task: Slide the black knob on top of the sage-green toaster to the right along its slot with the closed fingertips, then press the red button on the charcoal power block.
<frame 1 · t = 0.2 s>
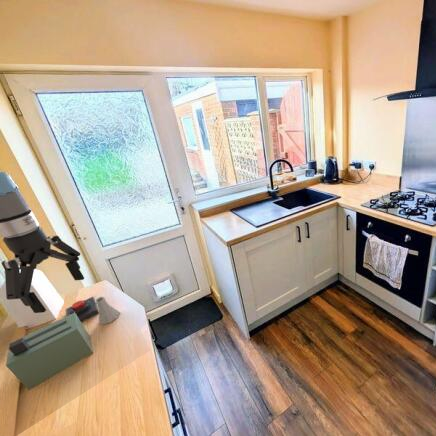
hand: (61, 294, 73), 28 cm above the countertop, tool pointing down, fingers open, 13 cm apart
toaster slider: (19, 346, 75), point 14 cm above the countertop, slide at -5.0 cm
toaster: (62, 359, 86), on the countertop
power button: (78, 305, 104), point 4 cm above the countertop, slide at 0.1 cm
power block: (83, 313, 106), on the countertop
flask: (110, 318, 102), on the countertop
milk: (44, 315, 108), on the countertop
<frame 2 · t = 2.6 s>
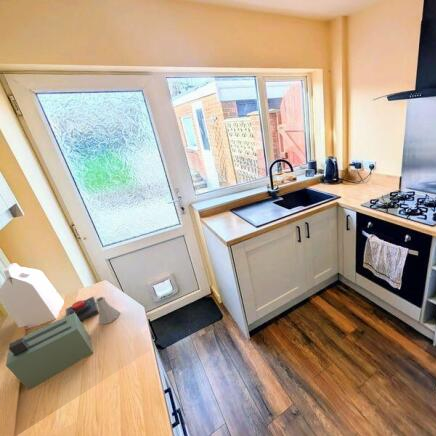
nothing on the countertop moved.
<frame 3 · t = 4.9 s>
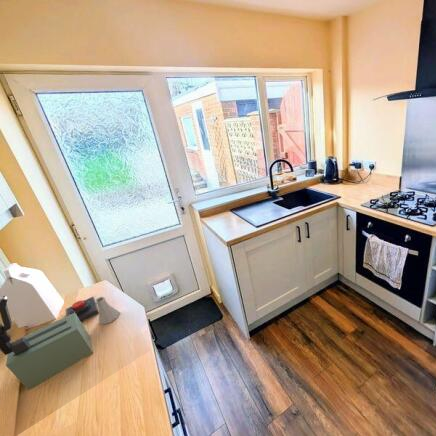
hand: (9, 350, 74), 14 cm above the countertop, tool pointing down, fingers closed
toaster slider: (20, 346, 75), point 14 cm above the countertop, slide at -4.8 cm, touching gripper
everything else where it was.
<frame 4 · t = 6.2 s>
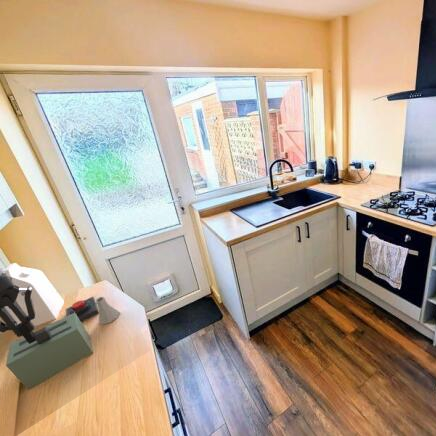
hand: (32, 339, 77), 14 cm above the countertop, tool pointing down, fingers closed
toaster slider: (42, 335, 78), point 14 cm above the countertop, slide at 0.4 cm, touching gripper
everything else where it was.
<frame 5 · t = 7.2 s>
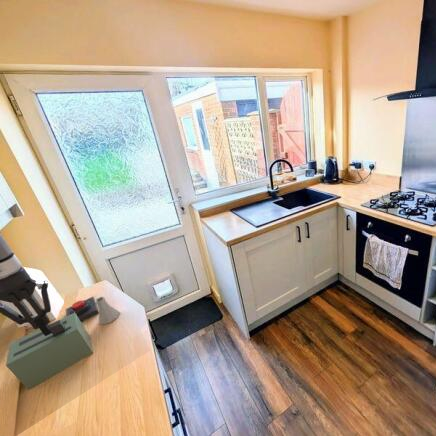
hand: (48, 332, 79), 14 cm above the countertop, tool pointing down, fingers closed
toaster slider: (57, 328, 80), point 14 cm above the countertop, slide at 4.1 cm, touching gripper
everything else where it was.
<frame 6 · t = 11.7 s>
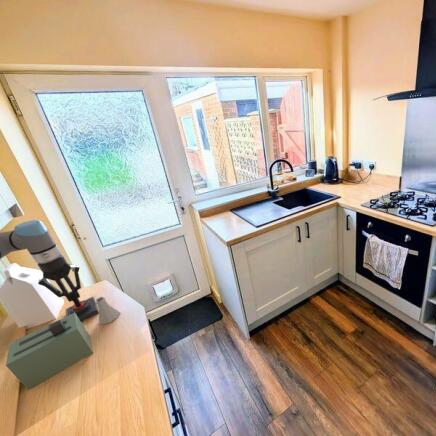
hand: (78, 304, 104), 5 cm above the countertop, tool pointing down, fingers closed
toaster slider: (57, 328, 81), point 14 cm above the countertop, slide at 4.2 cm
power button: (79, 306, 105), point 4 cm above the countertop, slide at -0.8 cm, touching gripper
everything else where it was.
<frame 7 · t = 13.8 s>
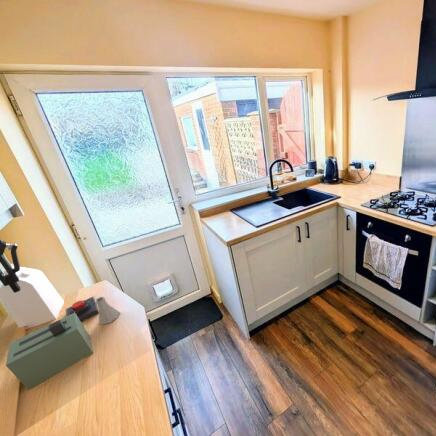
hand: (17, 290, 90), 21 cm above the countertop, tool pointing down, fingers closed
power button: (78, 305, 104), point 4 cm above the countertop, slide at 0.1 cm
everything else where it was.
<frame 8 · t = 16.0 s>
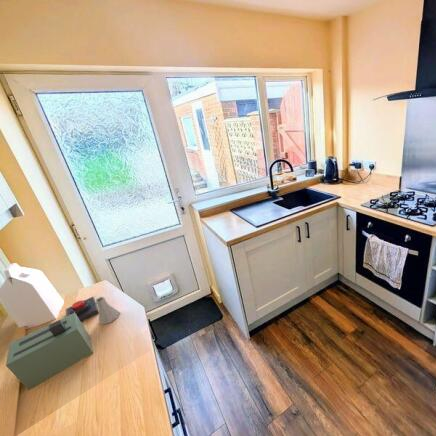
nothing on the countertop moved.
at the end: toaster slider slide at 4.2 cm; power button pushed in 1.0 cm at the most during the clip, back to where it started at the end; power button slide at 0.1 cm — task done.
